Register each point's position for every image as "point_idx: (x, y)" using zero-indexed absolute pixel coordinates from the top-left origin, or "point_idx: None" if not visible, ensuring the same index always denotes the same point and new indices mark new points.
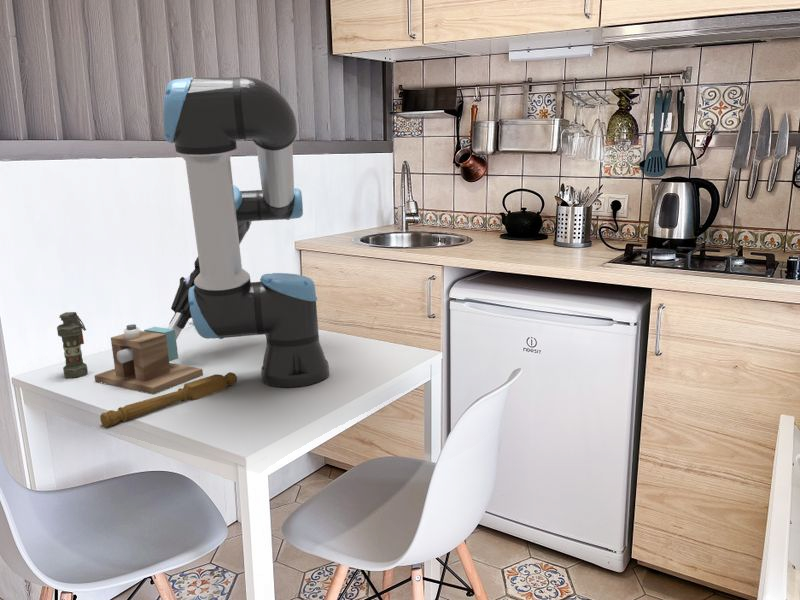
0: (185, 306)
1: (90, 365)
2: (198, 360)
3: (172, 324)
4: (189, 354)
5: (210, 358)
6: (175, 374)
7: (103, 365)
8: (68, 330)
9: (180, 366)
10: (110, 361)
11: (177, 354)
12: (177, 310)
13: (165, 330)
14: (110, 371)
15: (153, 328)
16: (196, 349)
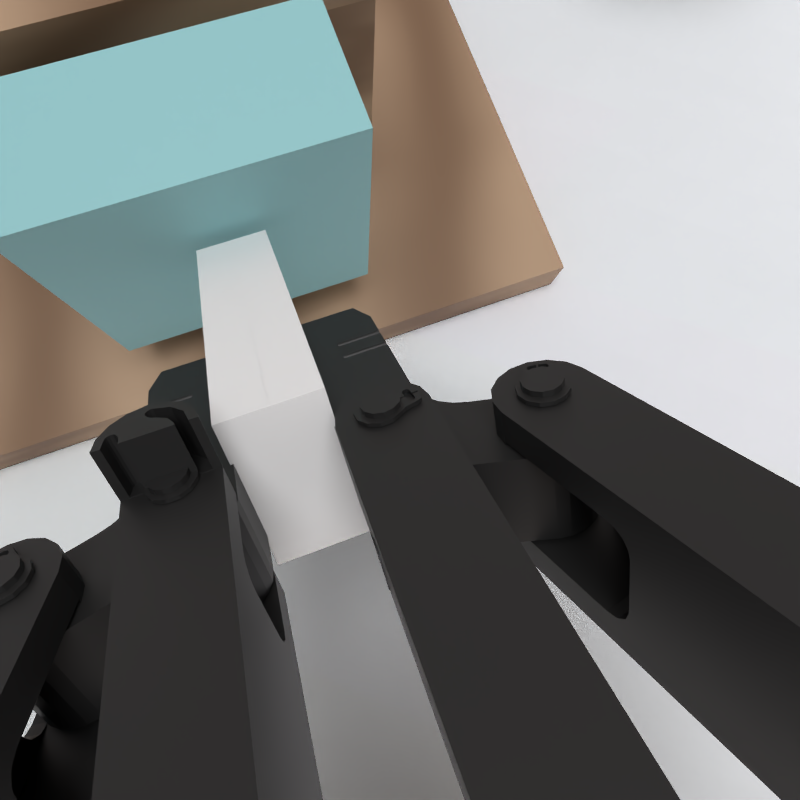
0: (214, 547)
1: (779, 41)
2: (356, 604)
3: (239, 304)
4: (571, 617)
5: (334, 702)
6: None
7: (723, 92)
8: None
9: (146, 376)
10: (787, 149)
11: (113, 337)
12: (353, 412)
13: (45, 141)
14: (421, 11)
15: (287, 84)
16: (674, 722)
